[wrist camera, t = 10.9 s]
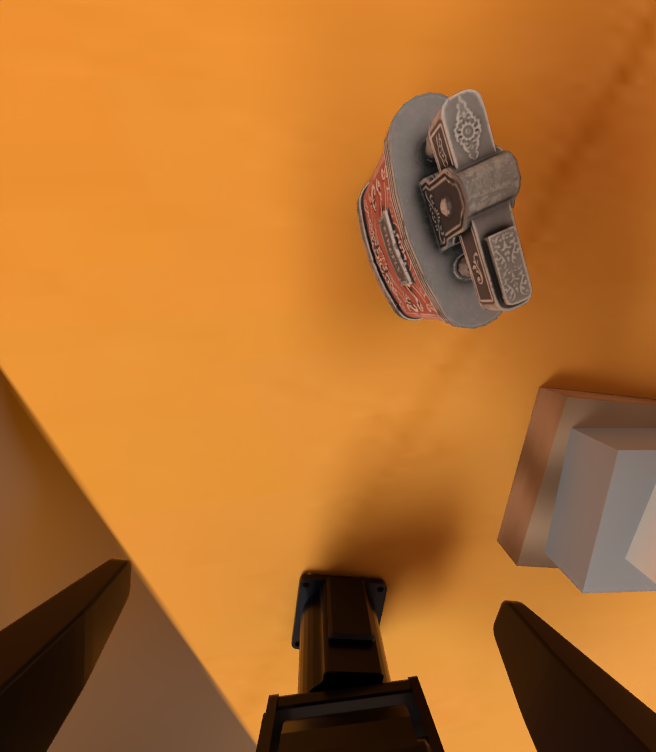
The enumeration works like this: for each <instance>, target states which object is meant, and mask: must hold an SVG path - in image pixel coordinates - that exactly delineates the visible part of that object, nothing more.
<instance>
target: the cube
mask: <svg viewBox="0 0 656 752" xmlns="http://www.w3.org/2000/svg"><path fill="white" fill-rule="evenodd" d="M625 559H626V560H627V561H628V562H630V563H631V564H632V565H633V566H635V567H636V568H637V569H638V570H640V571H641V572H642V573H643V574H644V575H646V576H647V577H648V578H649V579H651V580H652V581H653V582H654V583H656V484H655V487H654V489H653V492H652V494H651V497H650V499H649V501H648V504H647V506H646V509H645V511H644V513H643V516H642V518H641V521H640V523H639V526H638V528H637V530H636V533H635V535H634V538H633V540H632V543H631V545H630V547H629V550H628V552H627V555H626V557H625Z"/></svg>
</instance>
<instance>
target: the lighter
mask: <svg viewBox="0 0 656 752" xmlns="http://www.w3.org/2000/svg"><path fill="white" fill-rule="evenodd" d="M520 181H521V176H520V172H519V168H518V164H517V160H516V158H515V157H514V155H513V154H512V153H511V152H509V151H505V150H502V149H501V148H500V147H499V146H495V144H494V140H493V136H492V132H491V128H490V125H489V121H488V117H487V113H486V109H485V105H484V102H483V100H482V97H481V95H480V94H479V93H478V92H477V91H476V90H473V89H466V90H463V91H460V92H458V93H456V94H454V95H452V96H451V97H447V96H445V95H444V94H440V93H425V94H422V95H418V96H415V97H414V98H412V99H411V100H409V101H408V102H406V103H405V104H403V106H402V107H401V108H400V110H399V111H398V112H397V113H396V115H395V116H394V118H393V120H392V123H391V125H390V127H389V130H388V132H387V135H386V138H385V141H384V153H383V155H382V157H381V159H380V161H379V163H378V166H377V168H376V170H375V172H374V174H373V176H372V178H371V181H370V182H368V183H367V184H366V186H365V187H364V188H363V190H362V192H361V194H360V196H359V199H358V202H357V213H358V218H359V224H360V229H361V235H362V240H363V243H364V246H365V249H366V253H367V256H368V259H369V263H370V266H371V268H372V270H373V273H374V275H375V277H376V279H377V281H378V283H379V286H380V288H381V290H382V292H383V294H384V295H385V297H386V298H387V300H388V302H389V303H390V305H391V307H392V308H393V310H394V311H395V313H396V314H397V315H398V316H399V317H401V318H403V319H406V320H421V319H432V320H440V321H444V322H445V323H447V324H449V325H452V326H454V327H460V328H478V327H482V326H485V325H487V324H489V323H490V322H492V321H494V320H495V319H497V317H498V316H499V315H500V314H501V313H502V312H503V311H510V310H514V309H516V308H519V307H521V306H522V305H524V304H526V303H527V302H528V301H529V300H530V298H531V295H532V286H531V281H530V277H529V274H528V270H527V266H526V262H525V258H524V255H523V251H522V247H521V243H520V239H519V235H518V232H517V228H516V224H515V220H514V216H513V212H512V208H513V207H514V203H515V197H516V196H517V194H518V192H519V189H520Z"/></svg>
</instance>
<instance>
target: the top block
mask: <svg viewBox="0 0 656 752" xmlns="http://www.w3.org/2000/svg"><path fill="white" fill-rule="evenodd" d="M655 484H656V428H571V430H570V435H569V440H568V445H567V449H566V454H565V459H564V464H563V468H562V473H561V478H560V483H559V487H558V492H557V497H556V502H555V506H554V511H553V516H552V521H551V525H550V530H549V535H548V539H547V544H546V549H545V554H546V555H547V556H548V557H549V558H550V559H551V560H552V561H553V562H554V563H555V564H556V566H557V567H558V568H559V569H560V570H561V571H562V572H563V573H564V574H565V575H566V576H567V577H568V578H569V579H570V580H571V582H572V583H573V584H574V585H575V586H576V587H577V588H578V589H579V590H580V591H581V592H582V593H603V592H637V591H656V583H654V582H653V581H652V580H651V579H649V578H648V577H647V576H646V575H644V574H643V573H642V572H641V571H640V570H638V569H637V568H636V567H635V566H633V565H632V564H631V563H630V562H628V561H627V560H626V559H625V557H626V555H627V552H628V550H629V547H630V545H631V543H632V540H633V538H634V535H635V533H636V530H637V528H638V526H639V523H640V521H641V518H642V516H643V513H644V511H645V509H646V506H647V504H648V501H649V499H650V497H651V494H652V492H653V489H654V487H655Z"/></svg>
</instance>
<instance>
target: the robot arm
mask: <svg viewBox="0 0 656 752" xmlns="http://www.w3.org/2000/svg"><path fill="white" fill-rule="evenodd" d="M131 570H132V563H131V561H130V560H128V559H120V558H112V559H109V560H107V561H106V562H104V563H103V564H101V565H100V566H98V567H96V568H95V569H93V570H92V571H90V572H89V573H87V574H86V575H84V576H83V577H81V578H80V579H78V580H77V581H75V582H74V583H72V584H71V585H69V586H68V587H66V588H65V589H63V590H61V591H60V592H58V593H57V594H55V595H54V596H52V597H51V598H49V599H48V600H46V601H44V602H43V603H41V604H40V605H38V606H37V607H35V608H34V609H32V610H31V611H29V612H28V613H26V614H25V615H23V616H22V617H20V618H19V619H17V620H16V621H14V622H12V623H11V624H9V625H8V626H7V627H5V628H3V629H2V630H0V752H47V750H48V749H49V747H50V745H51V744H52V742H53V740H54V738H55V737H56V735H57V733H58V732H59V730H60V728H61V727H62V725H63V723H64V722H65V720H66V718H67V716H68V715H69V713H70V711H71V709H72V708H73V706H74V705H75V703H76V701H77V699H78V697H79V696H80V694H81V692H82V690H83V689H84V687H85V685H86V683H87V681H88V679H89V677H90V675H91V673H92V671H93V669H94V667H95V665H96V663H97V660H98V659H99V657H100V654H101V653H102V651H103V649H104V646H105V644H106V642H107V640H108V638H109V636H110V634H111V632H112V630H113V628H114V626H115V624H116V622H117V620H118V618H119V616H120V614H121V612H122V610H123V608H124V605H125V604H126V601H127V599H128V596H129V593H130V587H131ZM305 582H308V583H305ZM380 586H381V587H380ZM386 591H387V586H386V583H385V581H384V580H382V579H372V578H356V577H341V576H325V575H310V574H306V575H302V576H301V577H300V580H299V588H298V595H297V603H296V611H295V618H294V626H293V634H292V647H293V648H295V649H299V676H298V694H293V695H285V696H279V694H276V695H269V699H268V704H267V709H266V713H264V714H263V719H262V724H261V729H260V734H259V739H258V744H257V749H256V752H444V749H443V746H442V744H441V741H440V738H439V735H438V733H437V730H436V727H435V724H434V721H433V719H432V716H431V713H430V710H429V708H428V705H427V702H426V699H425V696H424V694H423V691H422V688H421V685H420V683H419V680H418V677H417V676H413V677H408V679H407V680H399V681H391V680H390V676H389V671H388V666H387V661H386V657H385V652H384V647H383V642H382V637H381V633H380V628H379V626H380V621H381V616H382V611H383V606H384V601H385V596H386ZM493 630H494V636H495V640H496V643H497V645H498V648H499V651H500V654H501V657H502V660H503V662H504V665H505V668H506V671H507V674H508V677H509V680H510V682H511V685H512V688H513V691H514V694H515V697H516V700H517V702H518V705H519V708H520V711H521V713H522V716H523V719H524V721H525V724H526V726H527V728H528V731H529V733H530V736H531V738H532V740H533V743H534V745H535V747H536V750H537V752H656V713H655V712H653V711H652V710H651V709H650V708H649V707H647V706H646V705H645V704H644V703H643V702H641V701H640V700H639V699H638V698H636V697H635V696H634V695H633V694H632V693H630V692H629V691H628V690H627V689H626V688H624V687H623V686H622V685H621V684H620V683H618V682H617V681H616V680H615V679H614V678H612V677H611V676H610V675H609V674H607V673H606V672H605V671H604V670H603V669H601V668H600V667H599V666H598V665H597V664H595V663H594V662H593V661H592V660H591V659H589V658H588V657H587V656H586V655H585V654H583V653H582V652H581V651H580V650H578V649H577V648H576V647H575V646H574V645H572V644H571V643H570V642H569V641H568V640H566V639H565V638H564V637H563V636H562V635H560V634H559V633H558V632H557V631H556V630H554V629H553V628H552V627H551V626H549V625H548V624H547V623H546V622H545V621H543V620H542V619H541V618H540V617H539V616H537V615H536V614H535V613H534V612H533V611H531V610H530V609H529V608H528V607H526V606H525V605H524V604H523V603H521V602H517V601H507V600H506V601H504V602H503V603H502V604H501V607H500V609H499V612H498V615H497V617H496V620H495V623H494V627H493Z"/></svg>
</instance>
